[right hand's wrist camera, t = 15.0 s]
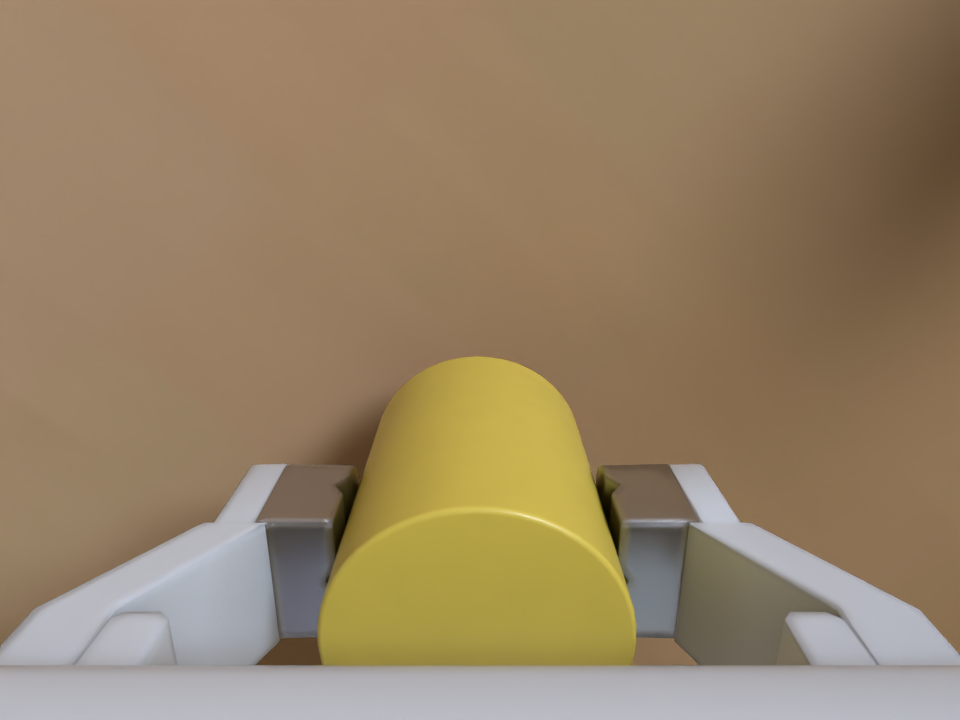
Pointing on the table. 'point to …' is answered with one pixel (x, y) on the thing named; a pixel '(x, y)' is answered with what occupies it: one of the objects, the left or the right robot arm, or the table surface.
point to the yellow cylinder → (477, 533)
